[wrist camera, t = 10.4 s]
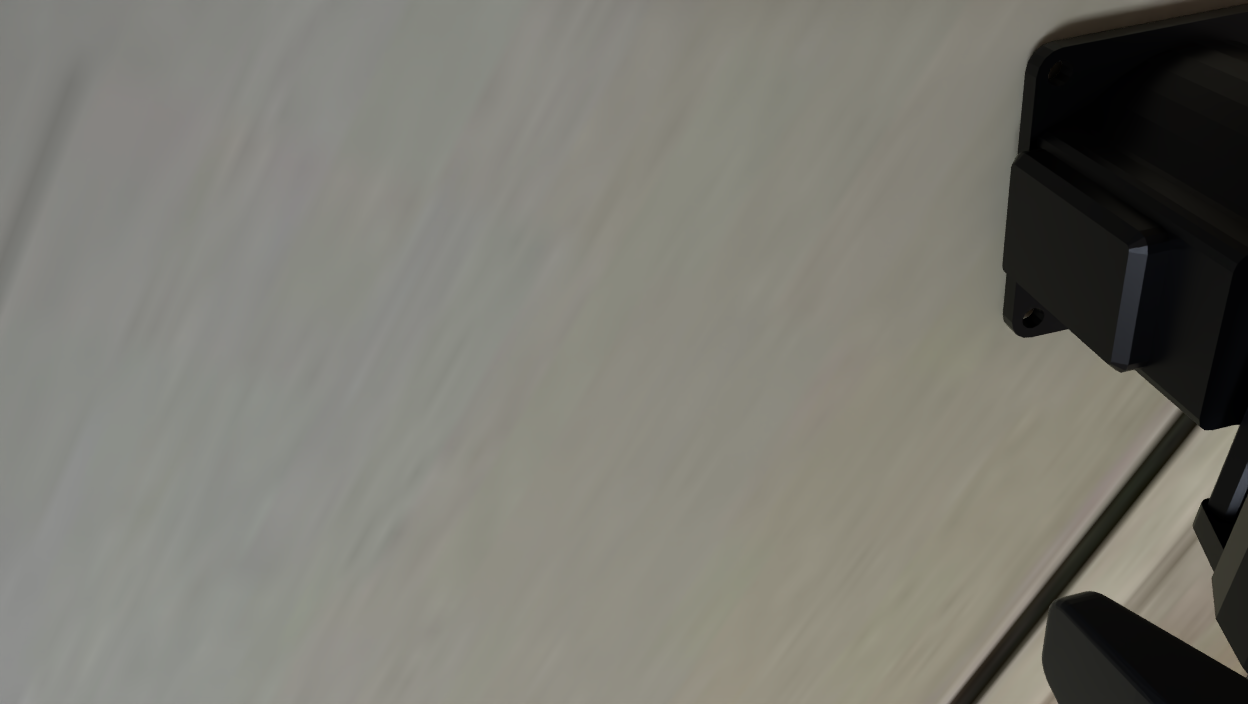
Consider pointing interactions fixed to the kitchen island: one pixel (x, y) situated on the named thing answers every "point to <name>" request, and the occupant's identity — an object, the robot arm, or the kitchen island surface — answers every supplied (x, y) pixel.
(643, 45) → the kitchen island surface
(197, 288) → the kitchen island surface
